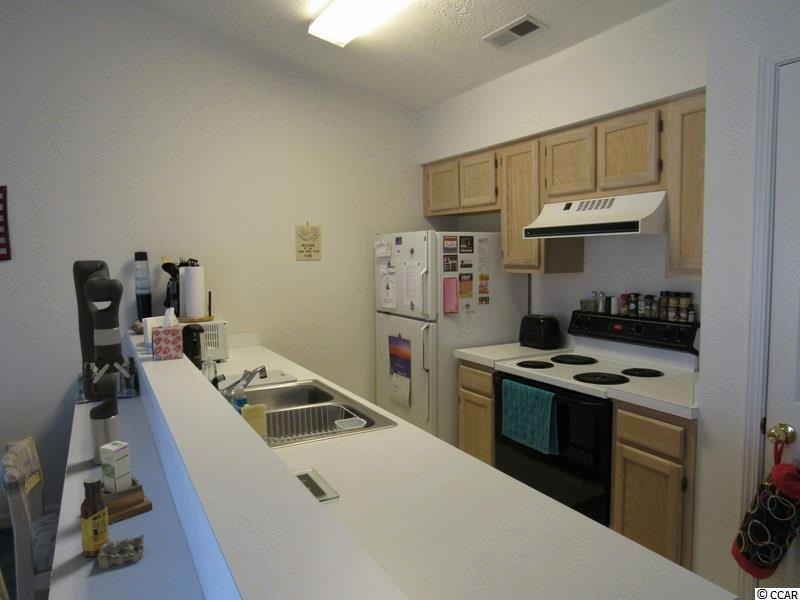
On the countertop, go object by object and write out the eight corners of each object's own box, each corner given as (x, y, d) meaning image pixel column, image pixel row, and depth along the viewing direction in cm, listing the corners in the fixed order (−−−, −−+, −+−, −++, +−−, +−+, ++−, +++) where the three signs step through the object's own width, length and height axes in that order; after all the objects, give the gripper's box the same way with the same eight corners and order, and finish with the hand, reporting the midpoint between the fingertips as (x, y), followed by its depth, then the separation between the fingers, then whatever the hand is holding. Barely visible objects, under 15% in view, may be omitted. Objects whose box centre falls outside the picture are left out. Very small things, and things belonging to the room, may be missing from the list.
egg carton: (96, 571, 130) (94, 556, 129) (101, 554, 137) (100, 540, 136) (142, 562, 133) (141, 547, 133) (146, 545, 140) (145, 531, 140)
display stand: (87, 506, 161) (85, 483, 160) (136, 491, 170) (134, 469, 169) (101, 526, 149) (99, 502, 148) (152, 509, 159) (150, 486, 158)
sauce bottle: (97, 559, 134) (91, 487, 132) (76, 556, 135) (70, 484, 133) (115, 544, 140) (110, 475, 138) (96, 542, 142) (90, 473, 139)
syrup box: (132, 486, 161) (129, 442, 159) (116, 495, 155) (112, 449, 154) (119, 483, 163) (115, 439, 161) (102, 492, 157) (99, 446, 156)
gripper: (128, 337, 172) (131, 384, 174) (79, 343, 162) (83, 393, 164) (135, 340, 167) (139, 389, 169) (85, 346, 157) (89, 398, 159)
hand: (111, 391), depth 166 cm, fingers open, 8 cm apart
